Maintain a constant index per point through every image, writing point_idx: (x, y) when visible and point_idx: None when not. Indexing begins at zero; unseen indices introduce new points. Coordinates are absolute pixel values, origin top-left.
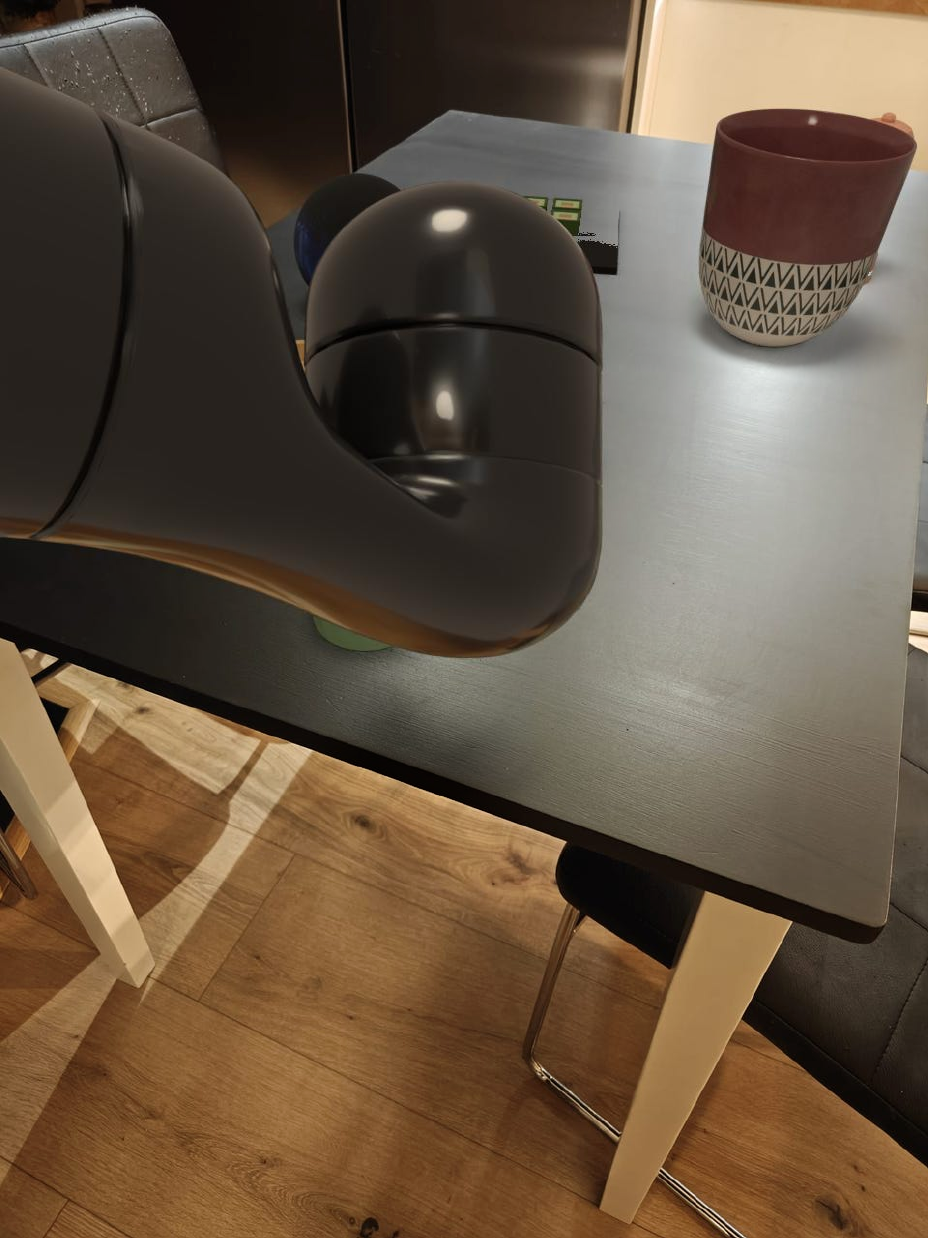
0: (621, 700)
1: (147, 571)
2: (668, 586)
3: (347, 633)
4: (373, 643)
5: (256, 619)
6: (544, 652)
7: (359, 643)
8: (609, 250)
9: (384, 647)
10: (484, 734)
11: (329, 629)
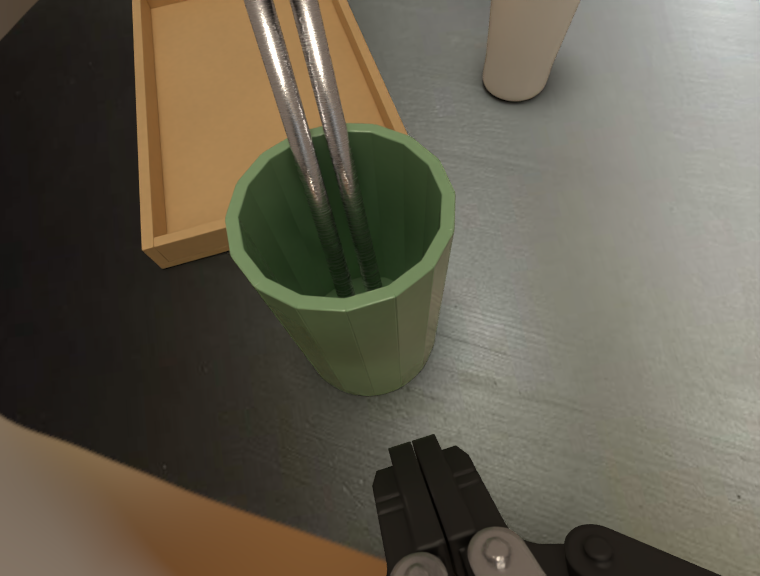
0: (714, 442)
1: (109, 296)
2: (712, 242)
3: (353, 389)
4: (386, 390)
5: (240, 357)
6: (594, 369)
7: (369, 393)
8: None
9: (399, 387)
10: (555, 528)
11: (329, 381)
